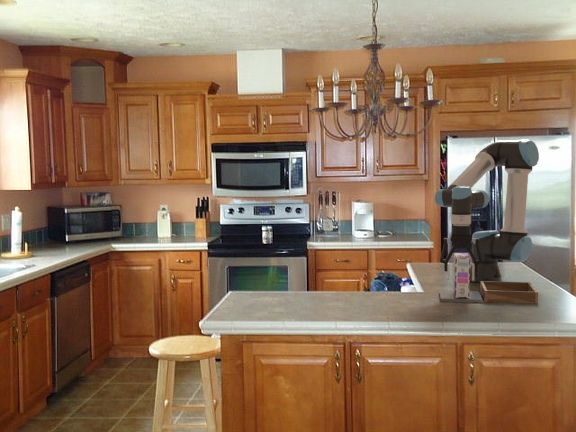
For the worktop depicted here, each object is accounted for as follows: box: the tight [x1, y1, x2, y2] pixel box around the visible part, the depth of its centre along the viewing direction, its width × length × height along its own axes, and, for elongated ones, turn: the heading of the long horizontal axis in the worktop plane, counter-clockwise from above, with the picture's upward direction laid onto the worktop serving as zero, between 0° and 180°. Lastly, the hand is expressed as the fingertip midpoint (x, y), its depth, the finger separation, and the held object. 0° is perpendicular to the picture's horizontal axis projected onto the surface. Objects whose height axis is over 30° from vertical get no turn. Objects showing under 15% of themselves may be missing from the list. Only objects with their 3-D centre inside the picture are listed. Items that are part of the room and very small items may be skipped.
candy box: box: [453, 252, 471, 298], centre depth 264 cm, size 14×6×16 cm, turn 168°
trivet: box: [439, 289, 483, 304], centre depth 265 cm, size 16×16×1 cm
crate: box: [479, 281, 539, 304], centre depth 265 cm, size 20×20×4 cm
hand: (460, 279), depth 265 cm, fingers open, 9 cm apart
